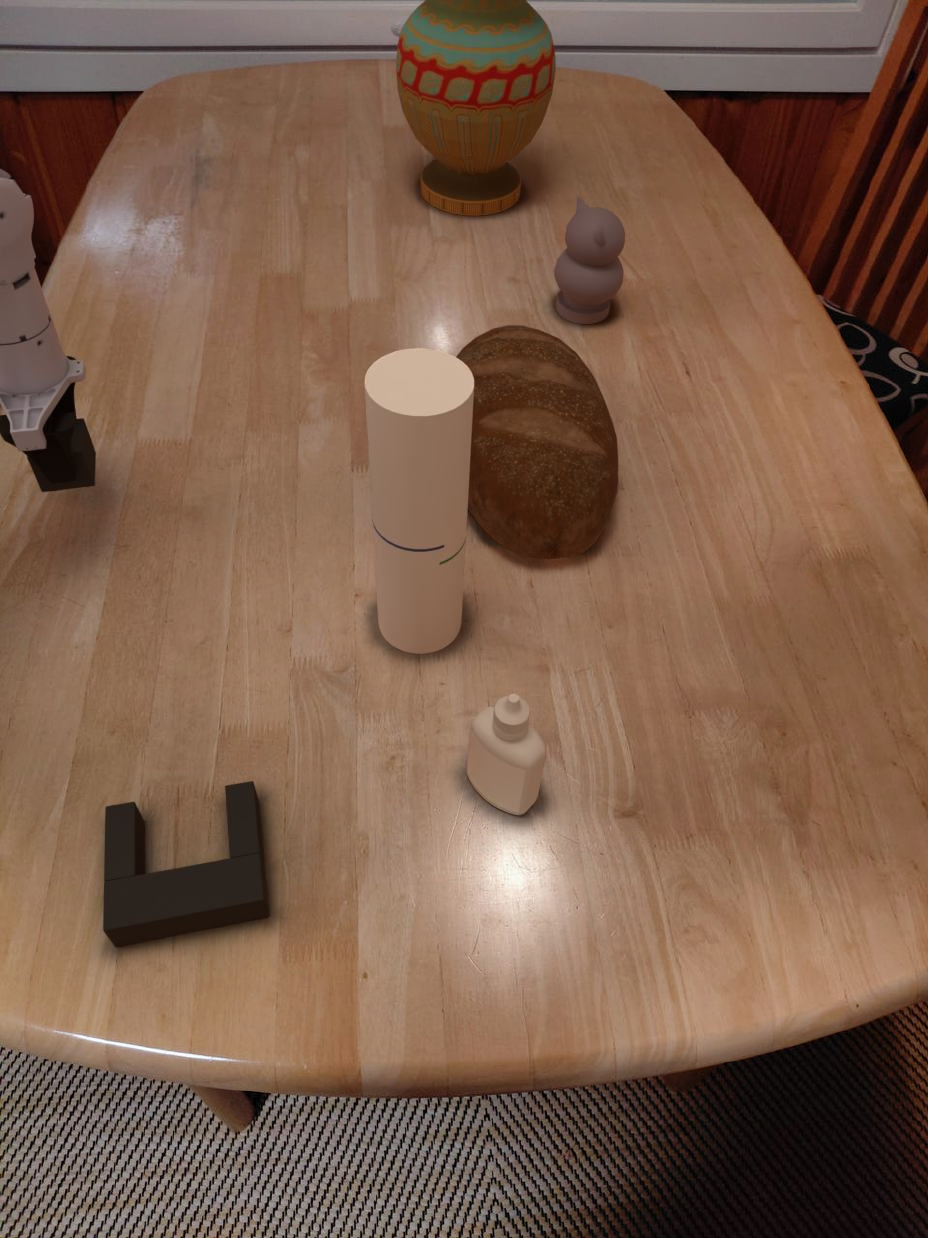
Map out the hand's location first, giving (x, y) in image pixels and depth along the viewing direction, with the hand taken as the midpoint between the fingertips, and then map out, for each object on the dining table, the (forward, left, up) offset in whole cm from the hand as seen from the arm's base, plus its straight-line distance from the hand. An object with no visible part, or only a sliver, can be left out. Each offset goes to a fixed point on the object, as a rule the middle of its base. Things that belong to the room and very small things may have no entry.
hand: (64, 460), depth 80 cm
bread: (+42, +1, -8) cm, 43 cm away
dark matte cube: (0, 0, -1) cm, 1 cm away
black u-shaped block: (+8, -36, -7) cm, 38 cm away
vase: (+49, +56, -8) cm, 74 cm away
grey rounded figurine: (+56, +26, -8) cm, 62 cm away
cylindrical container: (+28, -17, -8) cm, 34 cm away
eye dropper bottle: (+31, -34, -8) cm, 47 cm away
